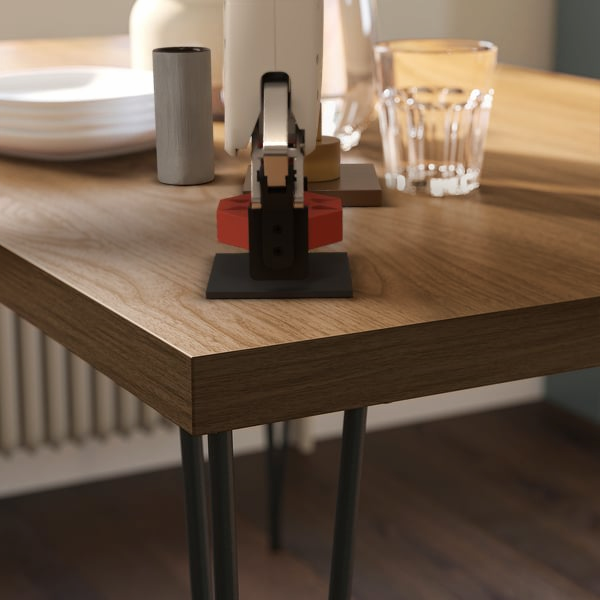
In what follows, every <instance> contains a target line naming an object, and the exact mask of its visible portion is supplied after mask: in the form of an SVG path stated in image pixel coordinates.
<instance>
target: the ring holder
mask: <svg viewBox="0 0 600 600" xmlns="http://www.w3.org/2000/svg"><path fill="white" fill-rule="evenodd" d="M303 151H304V161H303V176H307V182H308V192H311V193H316V194H321V195H326V196H331V197H336V198H340V199H341V202H342V207H381V206H382V199H383V198H382V197H383V196H382V193H383V191H382V187H381V184H380V181H379V177H378V174H377V171H376V168H375V164H374V163H371V162H369V163H368V162H367V163H365V162H364V163H341V138H339V137H337V136H332V135H324V134H323V104H322V101H321V102H320V112H319V122H318V130H317V138H316V146H315V150H314V151H312V152H311V153H310V154H308V155H307V156H305V147H303ZM249 193H252V173H251V164H248V165H247V169H246V173H245V178H244V183H243V187H242V195H244V194H249Z"/></svg>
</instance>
